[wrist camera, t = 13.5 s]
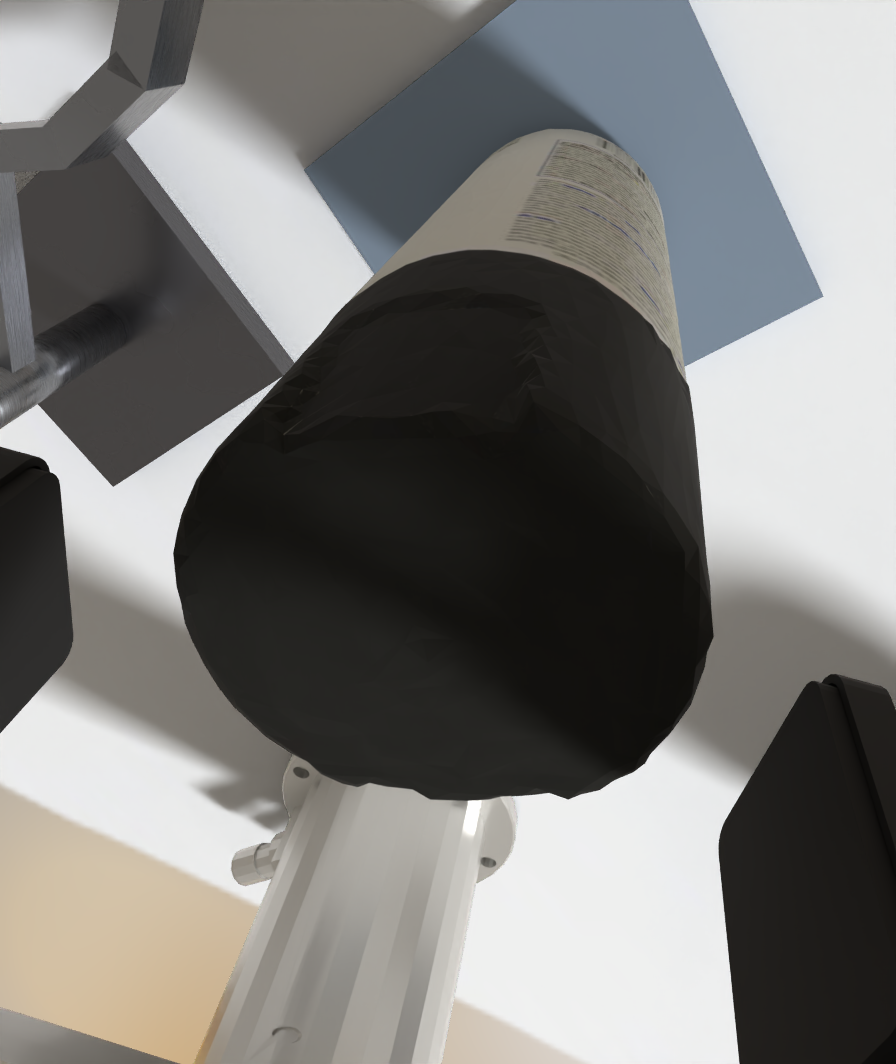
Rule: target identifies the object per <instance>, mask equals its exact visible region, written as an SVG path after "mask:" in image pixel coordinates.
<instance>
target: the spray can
mask: <svg viewBox="0 0 896 1064" xmlns="http://www.w3.org/2000/svg"><path fill="white" fill-rule="evenodd" d="M173 555H174V564H175V574H176V584H177V589H178V593H179V596H180V600H181V604H182V610H183V615H184V620H185V624H186V627H187V629H188V631H189V634H190V636H191V639H192V641H193V643H194V645H195V647H196V649H197V651H198V653H199V655H200V657H201V659H202V661H203V663H204V665H205V666H206V668H207V669H208V671H209V673H210V674H211V676H212V677H213V679H214V681H215V682H216V684H217V685H218V687H219V688H220V690H221V691H222V692H223V694H224V695H225V696H226V697H227V699H228V700H229V701H230V702H231V704H232V705H233V706H234V707H235V708H236V709H237V710H238V711H239V712H240V713H241V714H242V715H243V716H244V717H246V718H247V719H248V720H249V721H250V722H251V723H252V724H253V725H254V726H255V727H256V728H257V729H258V730H259V731H261V732H262V733H263V734H264V735H265V736H266V737H267V738H269V739H270V740H272V741H273V742H275V743H277V744H278V745H280V746H281V747H283V748H284V749H286V750H287V751H289V752H290V753H292V754H293V755H295V756H297V757H299V758H301V759H303V760H305V761H307V762H308V763H309V764H311V765H312V766H313V767H314V768H315V769H316V770H317V771H318V772H319V773H320V774H321V775H324V776H326V777H328V778H331V779H333V780H335V781H337V782H340V783H342V784H346V785H350V786H355V787H360V786H362V785H365V784H368V783H372V784H376V785H381V786H385V787H394V788H403V789H412V790H414V791H416V792H418V793H420V794H421V795H423V796H425V797H426V798H428V799H430V800H457V801H476V800H490V799H494V798H498V797H502V796H524V795H535V794H544V793H552V794H554V795H557V796H560V797H563V798H566V799H571V798H573V797H575V796H578V795H580V794H584V793H589V792H593V791H597V790H600V789H602V788H603V787H605V786H606V785H608V784H609V783H611V782H612V781H614V780H616V779H618V778H621V777H623V776H625V775H628V774H630V773H632V772H634V771H635V770H637V769H638V768H639V767H641V766H642V765H643V764H645V762H646V761H647V759H648V757H649V755H650V754H651V753H652V752H653V751H654V750H655V748H656V747H657V746H658V745H659V744H660V743H661V742H662V741H663V740H664V739H665V738H666V737H667V736H668V735H669V734H670V733H671V731H672V730H673V729H674V727H675V726H676V725H677V723H678V722H679V720H680V719H681V718H682V716H683V715H684V714H685V712H686V711H687V709H688V708H689V707H690V705H691V703H692V700H693V697H694V695H695V692H696V689H697V686H698V684H699V681H700V678H701V675H702V673H703V670H704V667H705V661H706V655H707V651H708V649H709V646H710V644H711V641H712V639H713V637H714V636H713V625H712V613H711V595H710V581H709V573H708V566H707V558H706V547H705V537H704V526H703V516H702V503H701V491H700V480H699V469H698V458H697V447H696V437H695V426H694V418H693V411H692V403H691V397H690V390H689V386H688V384H687V383H686V374H685V368H684V360H683V354H682V347H681V339H680V333H679V325H678V316H677V310H676V303H675V296H674V289H673V283H672V276H671V269H670V262H669V253H668V246H667V241H666V235H665V228H664V220H663V215H662V210H661V206H660V203H659V199H658V196H657V194H656V192H655V190H654V188H653V186H652V184H651V182H650V180H649V179H648V177H647V175H646V173H645V172H644V171H643V170H642V168H641V167H640V166H639V165H638V163H637V162H636V161H635V160H634V159H633V158H632V157H631V156H630V155H629V154H627V153H626V152H625V151H623V150H622V149H620V148H619V147H618V146H616V145H615V144H614V143H612V142H610V141H608V140H606V139H604V138H602V137H599V136H596V135H594V134H591V133H587V132H583V131H579V130H572V129H546V130H542V131H538V132H534V133H531V134H528V135H525V136H522V137H519V138H516V139H515V140H513V141H511V142H509V143H507V144H506V145H504V146H503V147H501V148H500V149H498V150H497V151H496V152H494V153H493V154H492V155H491V156H489V157H488V158H487V159H486V160H485V161H484V162H483V163H482V164H481V165H480V166H479V167H478V168H477V169H476V170H475V171H474V172H473V173H472V175H471V176H470V177H469V178H468V179H467V180H466V181H465V182H464V183H463V184H462V185H461V186H460V187H459V188H458V189H457V190H456V191H455V192H454V193H453V194H452V195H451V196H450V197H449V198H448V199H447V200H446V201H445V202H444V204H443V205H442V206H441V207H440V208H439V209H438V210H437V211H436V212H435V213H434V214H433V215H432V216H431V217H430V218H429V219H428V220H427V221H426V222H425V223H424V224H423V225H422V226H421V228H420V229H419V230H418V231H417V232H416V233H415V234H414V235H413V236H412V237H411V238H410V239H409V240H408V241H407V242H406V243H405V244H404V245H403V246H402V247H401V248H400V249H399V250H398V251H397V252H396V253H395V254H394V255H393V256H392V257H391V258H390V259H389V260H388V261H387V262H386V263H385V264H384V266H383V267H382V268H381V269H380V270H379V271H378V272H377V273H376V274H375V275H374V276H373V277H372V278H371V279H370V280H369V281H368V282H367V283H366V284H365V285H364V286H363V287H362V288H361V289H360V290H359V291H358V292H357V294H356V295H355V296H354V297H353V298H352V299H351V300H350V301H349V302H348V303H347V304H346V305H345V306H344V307H343V308H342V309H341V310H340V311H339V312H338V313H337V314H336V315H335V316H334V318H333V319H332V320H331V322H330V323H329V324H328V325H327V327H326V328H325V329H324V331H323V332H322V333H321V335H320V336H319V337H318V338H317V339H316V340H315V341H314V342H313V343H312V344H311V345H310V347H309V348H308V349H307V350H306V351H305V352H304V353H303V354H302V355H301V356H300V358H299V359H298V360H297V361H296V362H295V364H294V365H293V366H292V367H291V368H290V369H289V370H288V371H287V373H286V374H285V375H284V376H283V377H282V378H281V379H280V380H279V381H278V382H277V383H276V384H275V386H274V387H273V388H272V389H271V390H270V391H269V393H268V394H267V395H266V396H265V397H264V398H263V400H262V401H261V402H260V403H259V404H258V405H257V406H256V407H255V408H254V410H253V411H252V412H251V413H250V414H249V415H248V416H247V417H246V418H245V419H244V420H243V421H242V422H241V423H240V424H239V425H238V426H237V427H236V429H235V430H234V431H233V432H232V433H231V434H230V435H229V436H228V437H227V438H226V439H225V440H224V441H223V443H222V444H221V445H220V446H219V447H218V448H217V449H216V451H215V452H214V454H213V455H212V457H211V458H210V460H209V461H208V463H207V464H206V466H205V468H204V469H203V471H202V472H201V474H200V475H199V477H198V478H197V480H196V482H195V485H194V487H193V489H192V492H191V494H190V496H189V499H188V501H187V503H186V506H185V508H184V510H183V513H182V515H181V519H180V523H179V527H178V532H177V537H176V542H175V547H174V553H173Z"/></svg>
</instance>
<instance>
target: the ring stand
mask: <svg viewBox="0 0 896 1064" xmlns="http://www.w3.org/2000/svg"><path fill="white" fill-rule="evenodd" d="M203 3H204V0H120V1H119V6H118V12H117V18H116V23H115V29H114V34H113V40H112V45H111V51H110V56H109V59H108V60H107V61H106V62H105V63H104V64H103V65H102V66H101V67H100V68H99V69H98V70H97V71H96V72H95V73H94V74H93V75H92V76H91V77H90V78H89V79H88V80H87V81H86V82H85V84H84V85H83V86H82V87H81V88H80V89H79V90H78V91H77V92H76V93H75V94H74V95H73V96H72V97H71V98H70V99H69V100H68V101H67V102H66V103H65V104H64V105H63V106H62V107H61V108H60V109H59V110H58V111H57V112H56V113H55V114H54V116H53V117H52V118H51V119H50V120H40V121H26V122H12V123H0V429H1V428H2V427H4V426H5V425H7V424H8V423H10V422H11V421H13V420H14V419H16V418H17V417H19V416H20V415H22V414H23V413H25V412H26V411H28V410H29V409H31V408H32V407H34V406H35V405H37V404H38V405H39V406H40V407H41V408H42V409H43V410H44V411H45V412H46V414H47V415H48V416H49V417H50V418H51V419H52V420H53V421H54V422H55V423H56V425H57V426H58V427H59V428H60V429H61V430H62V431H63V432H64V433H65V434H66V436H67V437H68V438H69V439H70V440H71V441H72V442H73V443H74V444H75V445H76V447H77V448H78V449H79V450H80V451H81V452H82V453H83V454H84V455H85V456H86V458H87V459H88V460H89V461H90V462H91V463H92V464H93V465H94V466H95V467H96V469H97V470H98V471H99V472H100V473H101V474H102V475H103V476H104V477H105V478H106V479H107V481H108V482H109V483H110V484H111V485H112V486H113V487H114V486H115V485H117V484H118V483H120V482H121V481H123V480H124V479H126V478H127V477H129V476H131V475H132V474H134V473H135V472H137V471H138V470H140V469H141V468H143V467H144V466H146V465H147V464H149V463H150V462H152V461H153V460H155V459H157V458H158V457H160V456H161V455H163V454H164V453H166V452H167V451H169V450H170V449H172V448H173V447H175V446H176V445H178V444H179V443H181V442H183V441H184V440H186V439H187V438H189V437H190V436H192V435H193V434H195V433H196V432H198V431H199V430H201V429H202V428H204V427H205V426H207V425H209V424H210V423H212V422H213V421H215V420H216V419H218V418H219V417H221V416H222V415H224V414H225V413H227V412H228V411H230V410H232V409H233V408H235V407H236V406H238V405H239V404H241V403H242V402H244V401H245V400H247V399H248V398H250V397H251V396H253V395H254V394H256V393H258V392H259V391H261V390H262V389H264V388H265V387H267V386H268V385H270V384H271V383H273V382H274V381H276V380H277V379H279V378H280V377H282V376H283V375H284V374H285V373H286V372H287V371H288V370H289V369H290V368H291V367H292V366H293V365H294V364H295V363H294V362H293V361H292V359H291V358H290V357H289V355H288V354H287V353H286V351H285V350H284V349H283V347H282V346H281V345H280V343H279V342H278V341H277V340H276V338H275V337H274V336H273V334H272V333H271V332H270V330H269V329H268V328H267V326H266V325H265V324H264V322H263V321H262V320H261V318H260V317H259V316H258V314H257V313H256V312H255V310H254V309H253V308H252V306H251V305H250V304H249V302H248V301H247V300H246V298H245V297H244V296H243V294H242V293H241V292H240V290H239V289H238V288H237V286H236V285H235V284H234V283H233V281H232V280H231V279H230V277H229V276H228V275H227V273H226V272H225V271H224V269H223V268H222V267H221V265H220V264H219V263H218V261H217V260H216V259H215V257H214V256H213V255H212V253H211V252H210V251H209V249H208V248H207V247H206V245H205V244H204V243H203V241H202V240H201V239H200V237H199V236H198V235H197V233H196V232H195V231H194V229H193V228H192V227H191V225H190V224H189V223H188V222H187V220H186V219H185V218H184V216H183V215H182V214H181V212H180V211H179V210H178V208H177V207H176V206H175V204H174V203H173V202H172V200H171V199H170V198H169V196H168V195H167V194H166V192H165V191H164V190H163V188H162V187H161V186H160V184H159V183H158V182H157V180H156V179H155V178H154V176H153V175H152V174H151V172H150V171H149V170H148V168H147V167H146V166H145V164H144V163H143V162H142V161H141V159H140V158H139V157H138V155H137V154H136V153H135V151H134V150H133V149H132V147H131V146H130V145H129V143H128V142H127V141H126V139H127V138H128V137H129V136H130V135H131V134H132V133H133V132H134V131H135V130H136V129H137V128H138V127H139V126H140V125H141V124H142V123H143V122H145V121H146V120H147V119H148V118H149V117H150V116H151V115H152V114H153V113H154V112H155V111H156V110H157V109H158V108H159V107H160V106H161V105H162V104H164V103H165V102H166V101H167V100H168V99H169V98H170V97H171V96H172V95H173V94H174V93H175V92H176V91H177V90H178V89H179V88H180V87H181V86H183V85H184V83H185V79H186V75H187V71H188V66H189V62H190V58H191V54H192V50H193V45H194V41H195V37H196V33H197V28H198V24H199V20H200V16H201V11H202V7H203ZM29 171H40V172H39V173H38V174H37V175H36V176H35V177H34V178H33V179H32V180H31V181H30V182H29V183H28V184H27V185H26V186H25V187H24V188H23V189H22V190H21V191H20V192H19V193H18V194H17V191H16V183H15V174H14V172H29Z"/></svg>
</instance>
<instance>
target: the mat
mask: <svg viewBox="0 0 896 1064" xmlns="http://www.w3.org/2000/svg"><path fill="white" fill-rule="evenodd" d="M546 129H572V130H579V131H583V132H587V133H591V134H594V135H596V136H599V137H602V138H604V139H606V140H608V141H610V142H612V143H614V144H615V145H616V146H618V147H619V148H620V149H622V150H623V151H625V152H626V153H627V154H629V155H630V156H631V157H632V158H633V159H634V160H635V161H636V162H637V163H638V165H639V166H640V167H641V168H642V170H643V171H644V172H645V173H646V175H647V177H648V179H649V180H650V182H651V184H652V186H653V188H654V190H655V192H656V194H657V196H658V199H659V203H660V206H661V210H662V215H663V220H664V228H665V235H666V241H667V246H668V253H669V262H670V269H671V276H672V283H673V289H674V296H675V303H676V310H677V316H678V325H679V333H680V339H681V347H682V354H683V360H684V367H685V366H687V365H689V364H691V363H693V362H695V361H697V360H699V359H701V358H703V357H705V356H706V355H708V354H710V353H712V352H714V351H716V350H718V349H720V348H722V347H724V346H726V345H728V344H730V343H732V342H734V341H736V340H738V339H740V338H742V337H744V336H746V335H748V334H750V333H752V332H754V331H756V330H758V329H760V328H762V327H764V326H766V325H768V324H770V323H772V322H774V321H776V320H778V319H780V318H782V317H784V316H786V315H788V314H790V313H792V312H793V311H795V310H797V309H799V308H801V307H803V306H805V305H807V304H809V303H811V302H813V301H815V300H817V299H819V298H821V297H823V294H822V292H821V290H820V288H819V286H818V283H817V281H816V279H815V277H814V275H813V272H812V270H811V268H810V266H809V264H808V261H807V259H806V257H805V255H804V253H803V251H802V248H801V246H800V244H799V242H798V240H797V237H796V235H795V233H794V231H793V229H792V226H791V224H790V222H789V220H788V218H787V215H786V213H785V211H784V209H783V207H782V205H781V202H780V200H779V198H778V196H777V194H776V191H775V189H774V187H773V185H772V183H771V180H770V178H769V176H768V174H767V172H766V169H765V167H764V165H763V163H762V161H761V159H760V156H759V154H758V152H757V150H756V148H755V145H754V143H753V141H752V139H751V137H750V134H749V132H748V130H747V128H746V126H745V123H744V121H743V119H742V117H741V115H740V113H739V110H738V108H737V106H736V104H735V102H734V99H733V97H732V95H731V93H730V91H729V88H728V86H727V84H726V82H725V80H724V77H723V75H722V73H721V71H720V69H719V67H718V64H717V62H716V60H715V58H714V56H713V53H712V51H711V49H710V47H709V45H708V42H707V40H706V38H705V36H704V34H703V31H702V29H701V27H700V25H699V23H698V21H697V18H696V16H695V14H694V12H693V10H692V7H691V5H690V3H689V1H688V0H516V1H515V2H514V3H513V4H511V5H510V6H509V7H508V8H506V9H505V10H504V11H503V12H501V13H500V14H499V15H497V16H496V17H495V18H494V19H492V20H491V21H490V22H489V23H487V24H486V25H485V26H484V27H482V28H481V29H480V30H479V31H477V32H476V33H475V34H474V35H472V36H471V37H470V38H469V39H467V40H466V41H465V42H464V43H462V44H461V45H460V46H459V47H457V48H456V49H455V50H454V51H452V52H451V53H450V54H449V55H447V56H446V57H445V58H444V59H442V60H441V61H440V62H439V63H437V64H436V65H435V66H434V67H432V68H431V69H430V70H429V71H427V72H426V73H425V74H424V75H422V76H421V77H420V78H419V79H417V80H416V81H415V82H414V83H412V84H411V85H410V86H409V87H407V88H406V89H405V90H403V91H402V92H401V93H400V94H398V95H397V96H396V97H395V98H393V99H392V100H391V101H390V102H388V103H387V104H386V105H385V106H383V107H382V108H381V109H380V110H378V111H377V112H376V113H375V114H373V115H372V116H371V117H370V118H368V119H367V120H366V121H365V122H363V123H362V124H361V125H360V126H358V127H357V128H356V129H355V130H353V131H352V132H351V133H350V134H348V135H347V136H346V137H345V138H343V139H342V140H341V141H340V142H338V143H337V144H336V145H335V146H333V147H332V148H331V149H330V150H328V151H327V152H326V153H325V154H323V155H322V156H321V157H320V158H318V159H317V160H316V161H315V162H313V163H312V164H311V165H309V166H308V167H307V168H306V169H304V171H305V172H306V174H307V175H308V177H309V178H310V180H311V181H312V182H313V184H314V185H315V187H316V188H317V190H318V191H319V193H320V194H321V196H322V197H323V199H324V200H325V202H326V203H327V205H328V206H329V208H330V209H331V210H332V212H333V213H334V215H335V216H336V218H337V219H338V221H339V222H340V224H341V225H342V227H343V228H344V230H345V231H346V233H347V234H348V235H349V237H350V238H351V240H352V241H353V243H354V244H355V246H356V247H357V249H358V250H359V252H360V253H361V255H362V256H363V258H364V259H365V261H366V262H367V263H368V265H369V266H370V268H371V269H372V271H373V272H374V274H376V273H377V272H378V271H379V270H380V269H381V268H382V267H383V266H384V264H385V263H386V262H387V261H388V260H389V259H390V258H391V257H392V256H393V255H394V254H395V253H396V252H397V251H398V250H399V249H400V248H401V247H402V246H403V245H404V244H405V243H406V242H407V241H408V240H409V239H410V238H411V237H412V236H413V235H414V234H415V233H416V232H417V231H418V230H419V229H420V228H421V226H422V225H423V224H424V223H425V222H426V221H427V220H428V219H429V218H430V217H431V216H432V215H433V214H434V213H435V212H436V211H437V210H438V209H439V208H440V207H441V206H442V205H443V204H444V202H445V201H446V200H447V199H448V198H449V197H450V196H451V195H452V194H453V193H454V192H455V191H456V190H457V189H458V188H459V187H460V186H461V185H462V184H463V183H464V182H465V181H466V180H467V179H468V178H469V177H470V176H471V175H472V173H473V172H474V171H475V170H476V169H477V168H478V167H479V166H480V165H481V164H482V163H483V162H484V161H485V160H486V159H487V158H488V157H489V156H491V155H492V154H493V153H494V152H496V151H497V150H498V149H500V148H501V147H503V146H504V145H506V144H507V143H509V142H511V141H513V140H515V139H516V138H519V137H522V136H525V135H528V134H531V133H534V132H538V131H542V130H546Z"/></svg>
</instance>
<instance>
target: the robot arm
mask: <svg viewBox="0 0 896 1064" xmlns="http://www.w3.org/2000/svg"><path fill="white" fill-rule="evenodd" d="M72 642H73V627H72V616H71V604H70V593H69V582H68V571H67V559H66V548H65V537H64V526H63V514H62V503H61V492H60V484H59V480H58V478H57V476H56V475H55V474H53V473H50V471H49V467H48V465H47V463H46V462H45V461H44V460H43V459H41V458H39V457H36V456H32V455H28V454H25V453H21V452H17V451H14V450H10V449H6V448H3V447H0V733H1V732H2V731H3V730H4V728H5V727H6V726H7V725H8V724H9V723H10V722H11V721H12V720H13V718H14V717H15V716H16V715H17V714H18V713H19V712H20V711H21V710H22V708H23V707H24V706H25V705H26V704H27V703H28V702H29V701H30V700H31V698H32V697H33V696H34V695H35V694H36V693H37V692H38V691H39V690H40V688H41V687H42V686H43V685H44V684H45V683H46V682H47V681H48V680H49V679H50V677H51V676H52V675H53V674H54V673H55V672H56V671H57V670H58V669H59V667H60V666H61V665H62V664H63V663H64V661H65V660H66V658H67V656H68V654H69V652H70V649H71V647H72ZM282 793H283V800H284V804H285V807H286V809H287V812H288V814H289V817H290V819H289V822H288V824H287V826H286V829H285V831H282V832H280V833H278V834H276V835H275V837H274V838H273V839H272V841H271V843H261V844H258V845H254V846H251V847H248V848H245V849H241V850H240V851H238V852H237V853H235V855H234V857H233V859H232V867H231V870H232V874H233V877H234V879H235V880H236V881H237V882H238V884H240V885H243V886H247V885H251V884H255V883H258V882H262V881H266V880H269V879H271V878H272V879H271V882H270V884H269V886H268V889H267V891H266V893H265V896H264V898H263V901H262V903H261V905H260V908H259V910H258V912H257V915H256V917H255V919H254V922H253V924H252V927H251V929H250V931H249V934H248V936H247V938H246V941H245V943H244V945H243V948H242V950H241V952H240V955H239V957H238V960H237V962H236V964H235V967H234V969H233V971H232V974H231V976H230V978H229V981H228V983H227V986H226V988H225V990H224V993H223V995H222V997H221V1000H220V1002H219V1005H218V1007H217V1009H216V1012H215V1014H214V1016H213V1019H212V1021H211V1023H210V1026H209V1028H208V1030H207V1033H206V1035H205V1037H204V1040H203V1042H202V1045H201V1047H200V1049H199V1052H198V1054H197V1056H196V1059H195V1061H194V1064H442V1059H443V1054H444V1048H445V1043H446V1038H447V1033H448V1028H449V1023H450V1017H451V1012H452V1007H453V1002H454V996H455V991H456V986H457V981H458V975H459V970H460V965H461V960H462V954H463V949H464V944H465V939H466V933H467V928H468V923H469V918H470V912H471V907H472V902H473V897H474V892H475V886H476V883H479V882H480V881H482V880H484V879H486V878H488V877H489V876H491V875H493V874H494V873H495V872H496V871H497V870H498V869H500V868H501V867H502V866H503V865H504V864H505V862H506V861H507V859H508V857H509V856H510V854H511V852H512V849H513V845H514V841H515V836H516V828H517V813H516V807H515V802H514V800H513V798H512V796H502V797H498V798H494V799H490V800H476V801H457V800H430V799H428V798H426V797H425V796H423V795H421V794H420V793H418V792H416V791H414V790H412V789H403V788H394V787H385V786H381V785H376V784H372V783H368V784H365V785H362V786H360V787H355V786H350V785H346V784H342V783H340V782H337V781H335V780H333V779H331V778H328V777H326V776H324V775H321V774H320V773H319V772H318V771H317V770H316V769H315V768H314V767H313V766H312V765H311V764H309V763H308V762H307V761H305V760H303V759H301V758H299V757H297V756H295V755H292V757H291V759H290V761H289V764H288V766H287V768H286V771H285V773H284V777H283V784H282ZM719 862H720V872H721V882H722V892H723V902H724V912H725V922H726V932H727V942H728V952H729V962H730V972H731V982H732V992H733V1002H734V1012H735V1022H736V1032H737V1042H738V1052H739V1062H740V1064H896V710H895V707H894V705H893V702H892V699H891V697H890V695H889V693H888V691H887V690H886V689H885V688H883V687H881V686H878V685H874V684H870V683H867V682H863V681H859V680H856V679H852V678H848V677H845V676H841V675H837V674H830V675H829V676H828V677H826V678H825V679H824V680H823V682H822V683H819V682H816V681H811V682H809V683H808V684H807V685H806V686H805V688H804V689H803V691H802V692H801V694H800V696H799V697H798V699H797V701H796V702H795V704H794V706H793V707H792V709H791V711H790V712H789V714H788V716H787V717H786V719H785V721H784V723H783V724H782V726H781V728H780V729H779V731H778V733H777V734H776V736H775V738H774V739H773V741H772V743H771V744H770V746H769V748H768V749H767V751H766V753H765V755H764V756H763V758H762V760H761V761H760V763H759V765H758V766H757V768H756V770H755V771H754V773H753V775H752V776H751V778H750V780H749V781H748V783H747V785H746V787H745V788H744V790H743V792H742V793H741V795H740V797H739V798H738V800H737V802H736V803H735V805H734V807H733V808H732V810H731V812H730V813H729V815H728V817H727V819H726V820H725V822H724V824H723V827H722V830H721V834H720V839H719ZM0 1064H179V1063H175V1062H172V1061H169V1060H166V1059H163V1058H160V1057H157V1056H154V1055H150V1054H147V1053H144V1052H141V1051H138V1050H134V1049H132V1048H128V1047H125V1046H122V1045H119V1044H116V1043H112V1042H109V1041H106V1040H103V1039H100V1038H97V1037H94V1036H90V1035H87V1034H84V1033H81V1032H78V1031H75V1030H72V1029H68V1028H65V1027H62V1026H59V1025H56V1024H53V1023H50V1022H46V1021H43V1020H40V1019H37V1018H33V1017H30V1016H27V1015H24V1014H21V1013H18V1012H14V1011H11V1010H8V1009H5V1008H1V1007H0Z"/></svg>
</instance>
